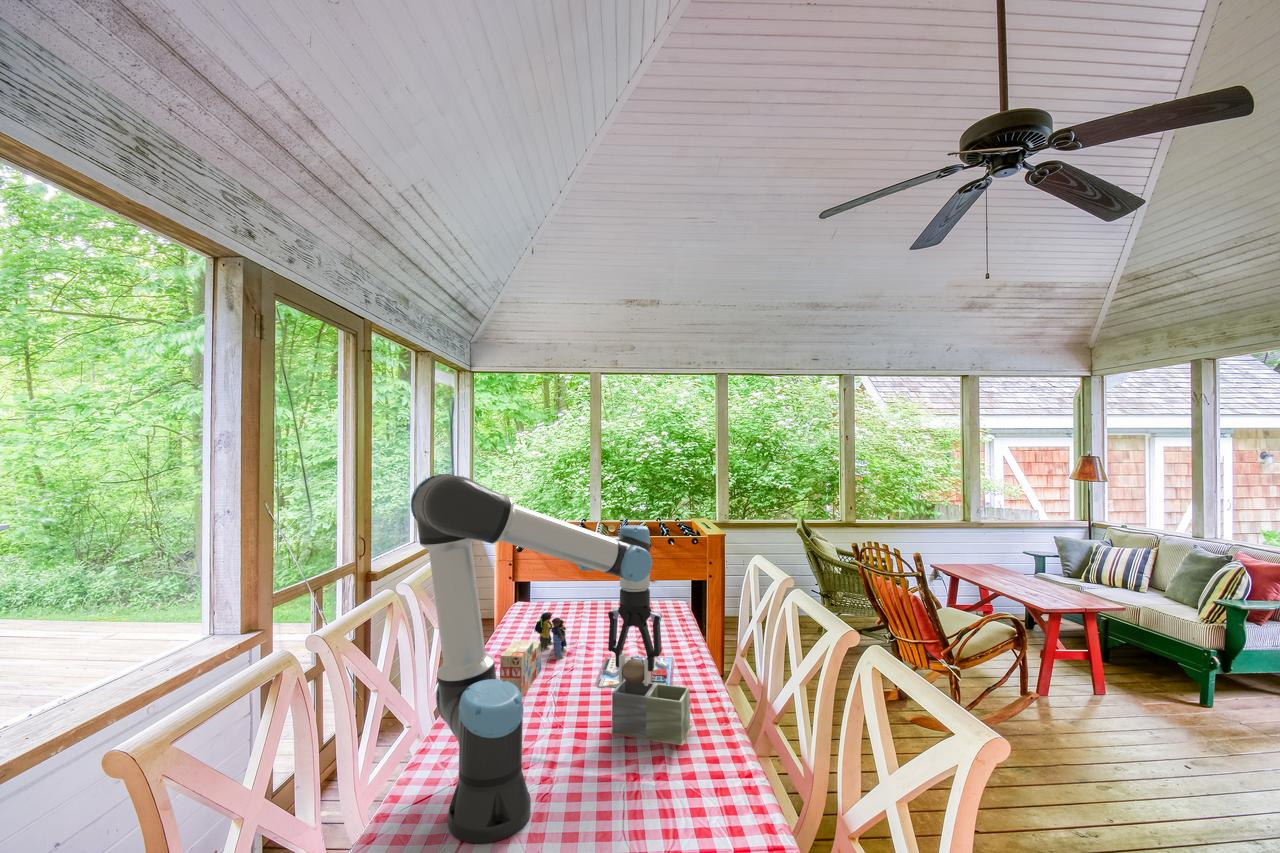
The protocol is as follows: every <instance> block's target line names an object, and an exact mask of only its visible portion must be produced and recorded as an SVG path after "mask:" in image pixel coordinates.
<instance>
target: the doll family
mask: <svg viewBox="0 0 1280 853" xmlns="http://www.w3.org/2000/svg"><path fill="white" fill-rule="evenodd" d="M552 616H553V615H552V612H548V611H546V612H543V613H542V614H541V616H540V618H539V620H537V621H534V620H533V621H534V622H533V623H536V624H535V626H534V627H532V628H531V629H532V630H533V631H534V632H536V633H537V634H539V642H541V651H549V650H550V647H549V646H553V650H554V651H553V652H554V654H553V658H555V659H556V660H564V659H565V656H564V655H563V654H565V653H568V650H567V649H565V648H566V647H568V646H567V640H566V635H567V633H566V631H567V629H568V628H569V626H565V625H564V620H563V619H561V618H560V617H555V618H553V619H552ZM551 619H552V620H551ZM550 620H551V621H550ZM550 632H551V633H552V636H551V634H550Z"/></svg>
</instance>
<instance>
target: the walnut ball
mask: <svg viewBox="0 0 1280 853" xmlns="http://www.w3.org/2000/svg"><path fill="white" fill-rule="evenodd" d="M623 677H624V679H625V680H626V681H627V682H628V683H629V684H631V685H638V684H640V683H642V682H643V681H644V663H643V662H642V661H641V660H639V659H631V660H629V661H627V662H626V663H625V665H624V667H623Z"/></svg>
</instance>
